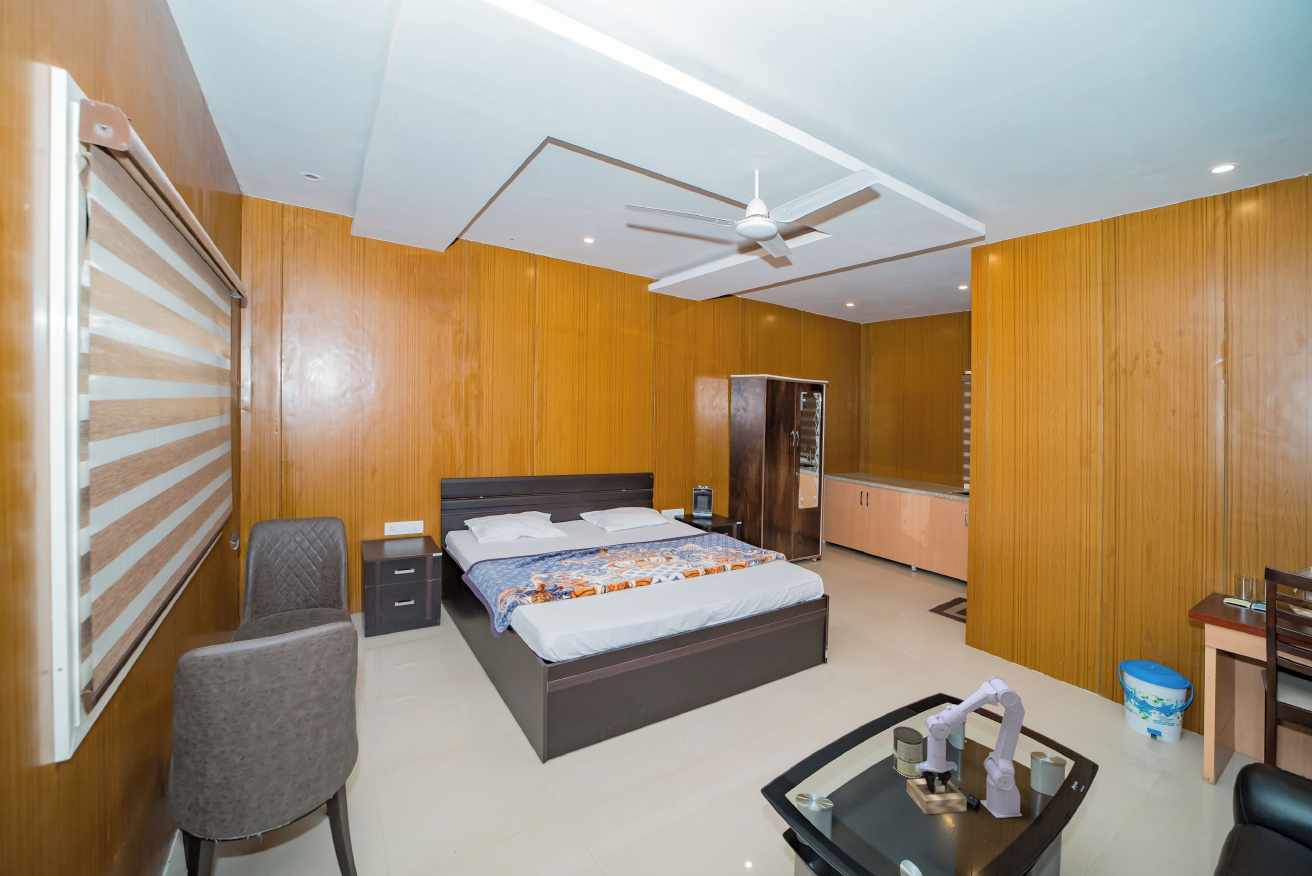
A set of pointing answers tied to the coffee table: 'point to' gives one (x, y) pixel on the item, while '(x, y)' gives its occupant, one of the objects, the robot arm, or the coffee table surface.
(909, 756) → the coffee can
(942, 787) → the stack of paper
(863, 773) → the coffee table surface
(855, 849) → the coffee table surface
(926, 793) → the tan wooden rectangular frame
